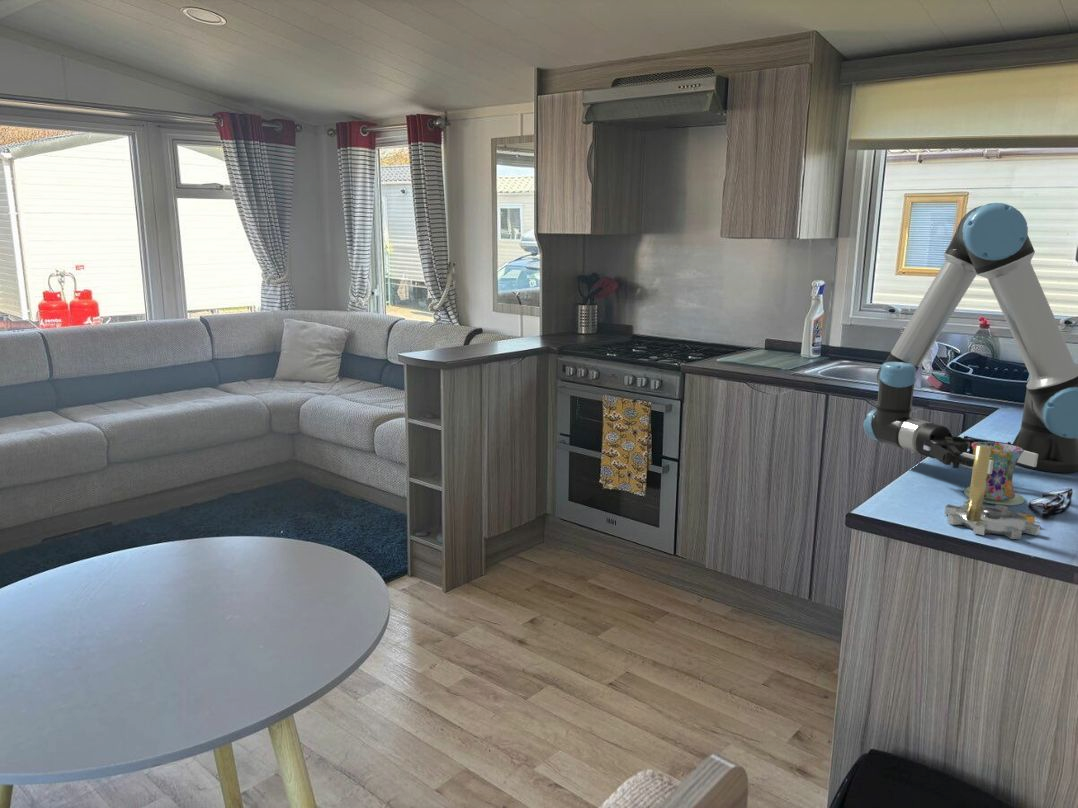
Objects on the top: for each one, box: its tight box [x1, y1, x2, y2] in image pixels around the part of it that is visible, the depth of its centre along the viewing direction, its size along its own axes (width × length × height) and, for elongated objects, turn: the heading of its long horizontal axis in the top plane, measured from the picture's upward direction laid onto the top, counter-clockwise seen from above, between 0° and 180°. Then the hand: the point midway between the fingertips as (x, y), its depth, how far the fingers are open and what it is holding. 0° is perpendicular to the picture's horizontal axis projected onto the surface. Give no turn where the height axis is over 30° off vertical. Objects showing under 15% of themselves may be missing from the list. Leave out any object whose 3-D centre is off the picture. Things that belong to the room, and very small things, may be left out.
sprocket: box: [944, 445, 1041, 540], centre depth 149 cm, size 15×15×16 cm
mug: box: [967, 442, 1024, 500], centre depth 165 cm, size 12×9×11 cm
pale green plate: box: [963, 486, 1026, 506], centre depth 167 cm, size 11×11×1 cm
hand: (1014, 464), depth 162 cm, fingers open, 13 cm apart
